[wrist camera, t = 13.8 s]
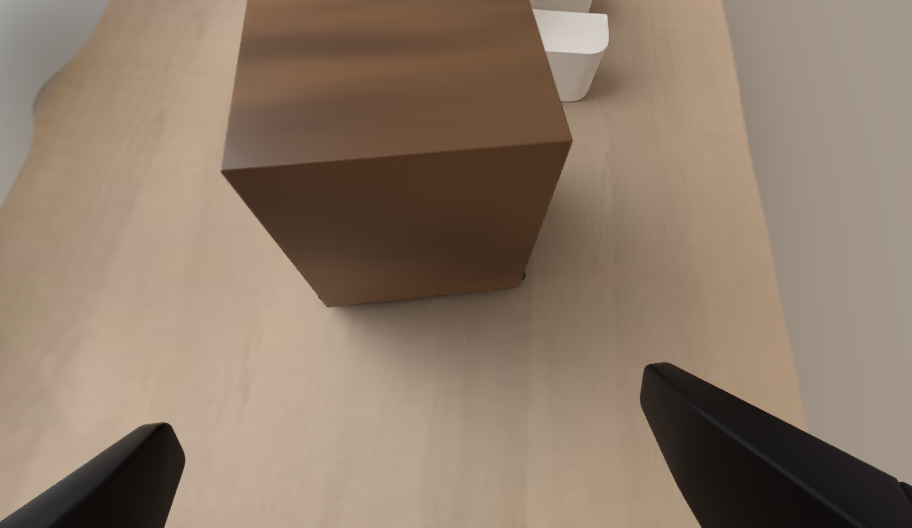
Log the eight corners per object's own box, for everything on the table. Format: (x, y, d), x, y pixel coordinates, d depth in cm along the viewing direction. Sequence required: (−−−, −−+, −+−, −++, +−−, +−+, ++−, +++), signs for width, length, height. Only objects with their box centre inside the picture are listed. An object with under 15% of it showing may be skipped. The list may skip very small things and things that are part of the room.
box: (574, 140, 12) (522, -25, 16) (218, 171, 11) (247, -8, 15) (519, 287, 22) (495, 166, 25) (326, 307, 21) (329, 181, 25)
